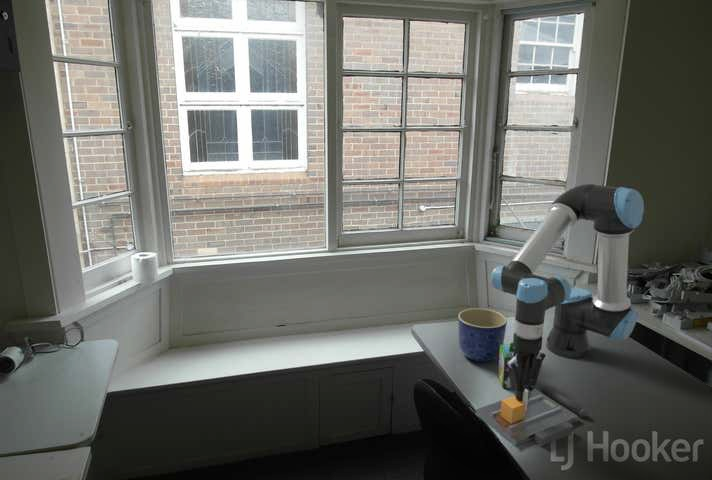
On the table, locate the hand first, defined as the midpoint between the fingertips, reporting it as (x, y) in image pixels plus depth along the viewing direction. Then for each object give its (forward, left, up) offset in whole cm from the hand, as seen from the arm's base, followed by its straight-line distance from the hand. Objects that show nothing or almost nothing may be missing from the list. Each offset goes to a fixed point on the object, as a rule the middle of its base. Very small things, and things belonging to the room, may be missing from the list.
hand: (521, 409), depth 139 cm
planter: (-35, +15, -4) cm, 38 cm away
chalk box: (-16, +13, -4) cm, 21 cm away
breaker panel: (0, +2, -4) cm, 4 cm away
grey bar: (+10, +2, -4) cm, 11 cm away
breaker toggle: (0, -3, -2) cm, 4 cm away
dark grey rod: (0, +17, -4) cm, 18 cm away
